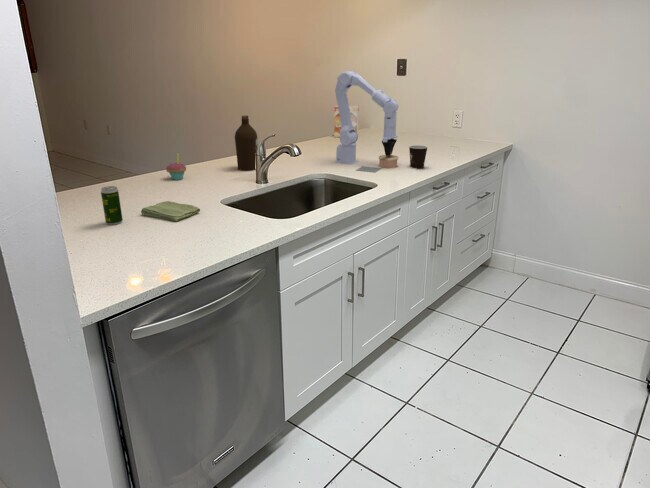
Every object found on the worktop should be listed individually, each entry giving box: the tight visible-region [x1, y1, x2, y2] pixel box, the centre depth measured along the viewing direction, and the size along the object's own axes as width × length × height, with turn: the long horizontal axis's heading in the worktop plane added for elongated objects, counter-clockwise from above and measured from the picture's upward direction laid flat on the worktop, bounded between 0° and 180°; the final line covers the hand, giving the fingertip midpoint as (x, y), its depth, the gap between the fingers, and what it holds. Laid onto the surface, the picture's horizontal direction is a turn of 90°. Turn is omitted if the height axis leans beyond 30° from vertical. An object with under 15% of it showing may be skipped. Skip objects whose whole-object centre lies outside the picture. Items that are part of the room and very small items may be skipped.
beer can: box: [100, 185, 123, 226], centre depth 169 cm, size 5×5×12 cm
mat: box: [355, 165, 383, 174], centre depth 244 cm, size 10×10×1 cm
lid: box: [378, 153, 399, 161], centre depth 248 cm, size 10×10×5 cm
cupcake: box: [165, 152, 187, 181], centre depth 225 cm, size 9×8×12 cm
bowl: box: [378, 158, 398, 169], centre depth 250 cm, size 8×8×4 cm
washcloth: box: [140, 200, 201, 222], centre depth 180 cm, size 13×18×3 cm
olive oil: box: [234, 114, 258, 172], centre depth 242 cm, size 11×11×25 cm
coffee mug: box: [408, 144, 428, 170], centre depth 249 cm, size 12×9×10 cm
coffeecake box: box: [333, 104, 360, 138], centre depth 328 cm, size 15×7×20 cm, turn 81°
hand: (388, 154), depth 249 cm, fingers closed on lid, 2 cm apart
